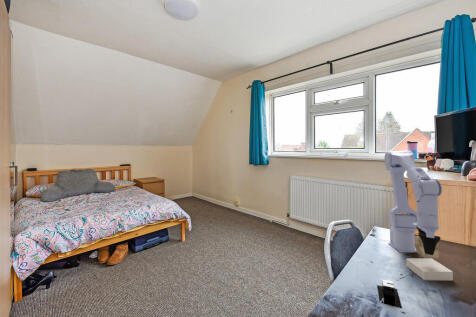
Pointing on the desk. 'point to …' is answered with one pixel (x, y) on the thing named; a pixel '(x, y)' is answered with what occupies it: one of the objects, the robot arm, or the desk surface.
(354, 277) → the desk surface
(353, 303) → the desk surface
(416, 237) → the oak block
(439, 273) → the base
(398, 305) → the black mounting plate
